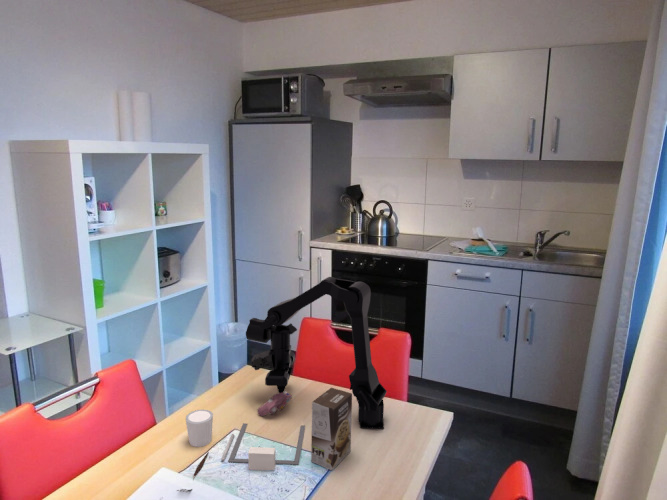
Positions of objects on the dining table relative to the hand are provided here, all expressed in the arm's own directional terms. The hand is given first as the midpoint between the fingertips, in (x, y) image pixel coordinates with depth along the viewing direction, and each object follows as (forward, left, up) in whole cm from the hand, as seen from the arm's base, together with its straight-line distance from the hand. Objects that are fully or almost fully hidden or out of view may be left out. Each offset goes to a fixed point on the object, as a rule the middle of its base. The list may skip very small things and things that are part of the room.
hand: (281, 393), depth 144 cm
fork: (+15, +34, -3) cm, 37 cm away
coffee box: (-16, +26, -3) cm, 31 cm away
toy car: (+1, +6, -3) cm, 6 cm away
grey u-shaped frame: (+1, +23, -2) cm, 23 cm away
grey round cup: (+18, +21, -3) cm, 28 cm away
